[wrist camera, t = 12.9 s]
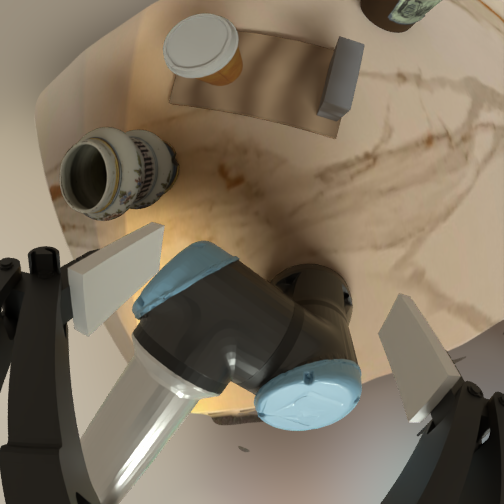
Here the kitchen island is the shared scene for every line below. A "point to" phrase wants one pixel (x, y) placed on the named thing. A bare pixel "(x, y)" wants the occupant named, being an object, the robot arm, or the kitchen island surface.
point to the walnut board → (283, 83)
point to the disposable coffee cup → (204, 49)
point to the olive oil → (396, 12)
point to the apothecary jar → (116, 172)
